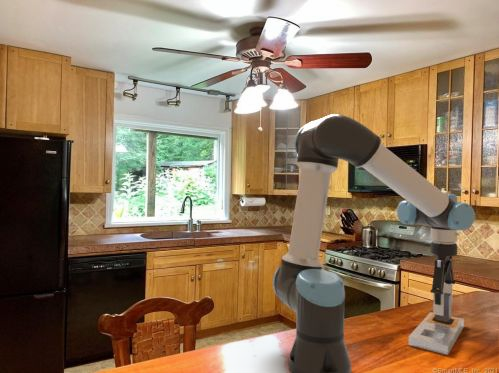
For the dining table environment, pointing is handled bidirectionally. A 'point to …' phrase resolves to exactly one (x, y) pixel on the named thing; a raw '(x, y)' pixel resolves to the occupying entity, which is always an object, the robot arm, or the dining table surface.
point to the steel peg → (445, 310)
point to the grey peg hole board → (436, 334)
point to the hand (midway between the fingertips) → (443, 308)
